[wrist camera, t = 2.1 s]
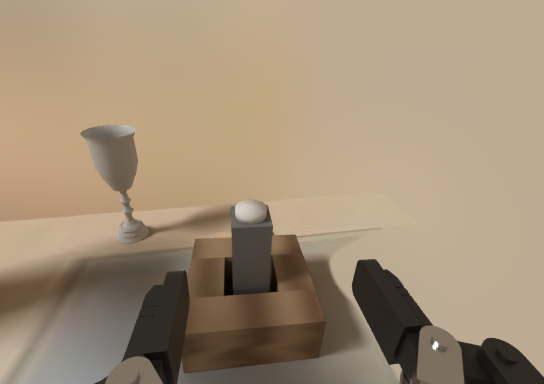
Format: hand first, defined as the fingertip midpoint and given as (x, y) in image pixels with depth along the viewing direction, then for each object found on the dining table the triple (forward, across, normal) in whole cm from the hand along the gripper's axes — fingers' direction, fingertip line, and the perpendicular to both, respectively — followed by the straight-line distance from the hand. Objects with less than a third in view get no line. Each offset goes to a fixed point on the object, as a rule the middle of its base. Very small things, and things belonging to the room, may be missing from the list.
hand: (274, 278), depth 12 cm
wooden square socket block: (+14, 0, +20) cm, 24 cm away
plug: (+14, 0, +20) cm, 24 cm away
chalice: (+31, +19, +20) cm, 42 cm away
